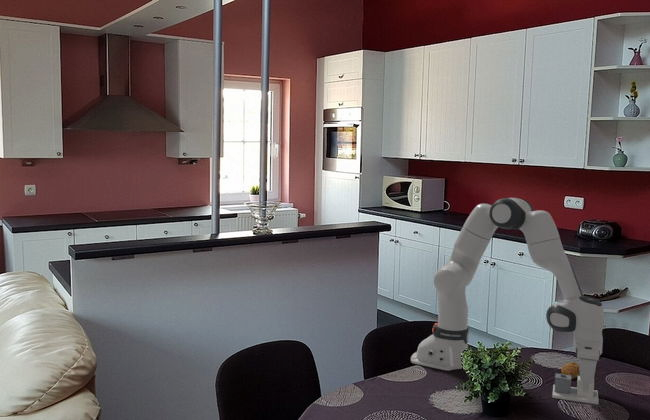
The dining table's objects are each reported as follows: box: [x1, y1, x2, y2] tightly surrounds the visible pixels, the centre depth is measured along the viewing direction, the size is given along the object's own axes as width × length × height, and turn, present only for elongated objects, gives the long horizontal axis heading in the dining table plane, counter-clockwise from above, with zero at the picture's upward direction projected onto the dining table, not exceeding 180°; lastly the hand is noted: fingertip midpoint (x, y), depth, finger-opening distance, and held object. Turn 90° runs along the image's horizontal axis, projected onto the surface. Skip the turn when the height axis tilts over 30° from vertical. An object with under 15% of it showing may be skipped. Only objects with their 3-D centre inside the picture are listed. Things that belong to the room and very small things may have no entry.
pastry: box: [560, 361, 580, 379], centre depth 226 cm, size 9×7×4 cm
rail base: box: [551, 372, 600, 406], centre depth 206 cm, size 14×10×7 cm
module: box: [576, 376, 595, 397], centre depth 205 cm, size 5×4×6 cm
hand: (585, 386), depth 205 cm, fingers open, 8 cm apart
